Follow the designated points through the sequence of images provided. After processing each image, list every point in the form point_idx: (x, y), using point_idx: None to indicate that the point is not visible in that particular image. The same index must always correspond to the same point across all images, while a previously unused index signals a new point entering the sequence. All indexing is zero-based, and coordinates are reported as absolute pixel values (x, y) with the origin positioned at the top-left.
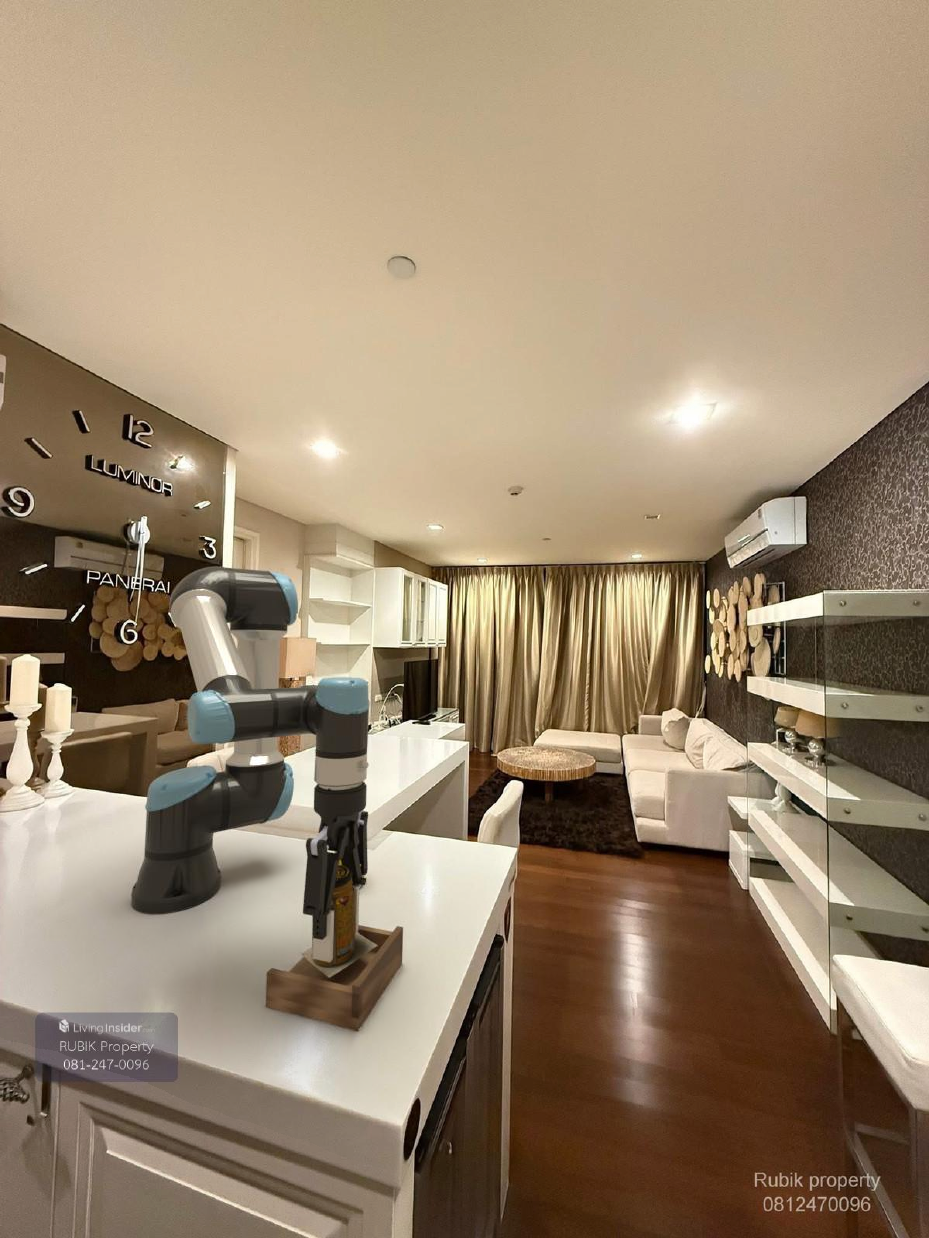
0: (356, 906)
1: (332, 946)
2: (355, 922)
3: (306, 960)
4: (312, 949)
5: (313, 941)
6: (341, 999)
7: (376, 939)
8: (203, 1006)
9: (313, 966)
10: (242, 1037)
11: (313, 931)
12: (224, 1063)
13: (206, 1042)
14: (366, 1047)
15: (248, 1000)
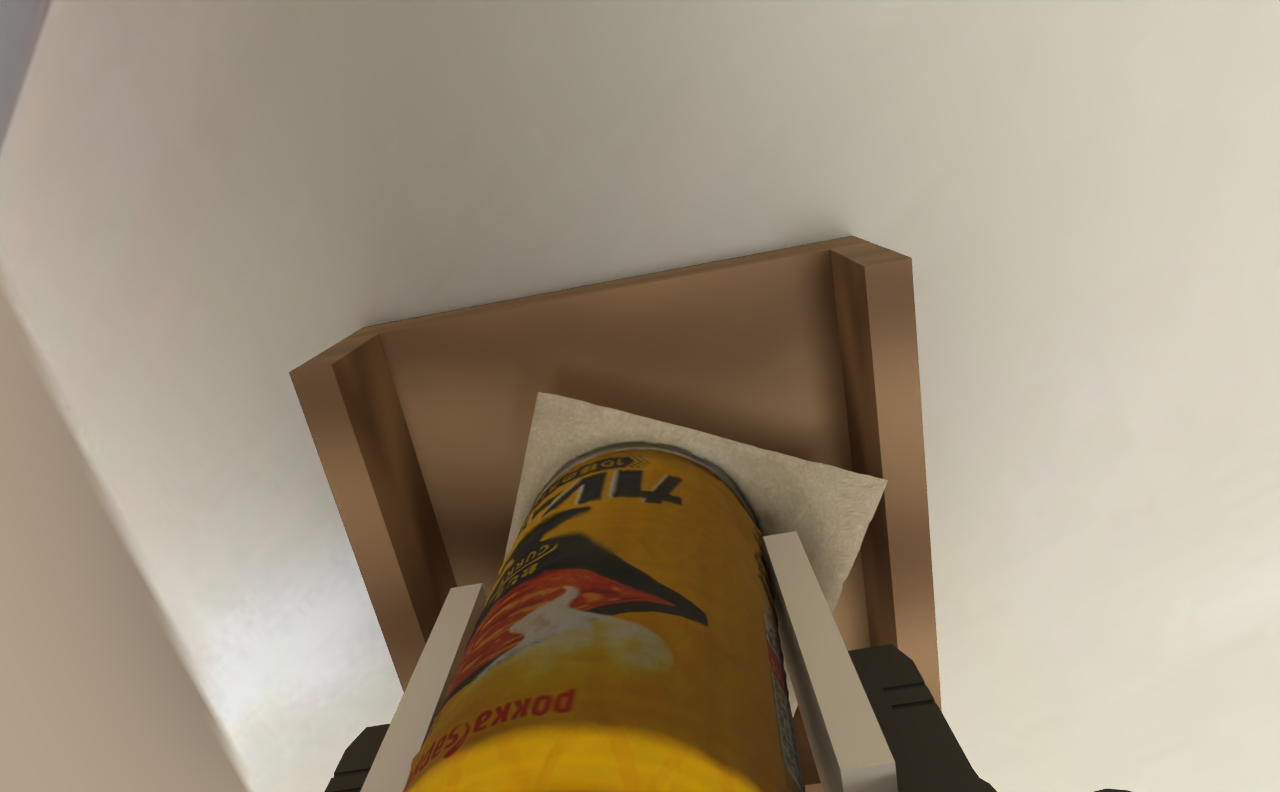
0: (817, 768)
1: None
2: (790, 676)
3: (644, 319)
4: (605, 426)
5: (422, 655)
6: None
7: (885, 623)
8: (174, 45)
9: (623, 390)
10: (201, 383)
11: (335, 775)
12: (91, 426)
13: (86, 273)
14: None
15: (340, 220)
